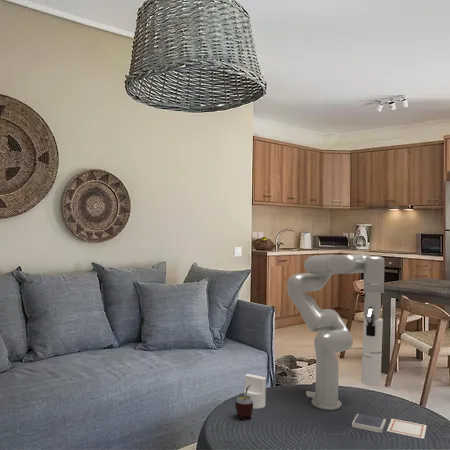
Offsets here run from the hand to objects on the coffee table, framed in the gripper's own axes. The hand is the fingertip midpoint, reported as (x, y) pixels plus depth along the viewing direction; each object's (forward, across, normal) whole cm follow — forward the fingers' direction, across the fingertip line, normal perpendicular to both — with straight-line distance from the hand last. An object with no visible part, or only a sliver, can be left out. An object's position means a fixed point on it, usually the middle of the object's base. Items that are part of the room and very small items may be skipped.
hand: (372, 333), depth 188 cm
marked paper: (+36, -4, +13) cm, 38 cm away
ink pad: (+36, 0, 0) cm, 36 cm away
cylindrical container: (+19, 0, 0) cm, 19 cm away
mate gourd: (+36, +18, -45) cm, 61 cm away
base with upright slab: (+36, +3, -47) cm, 60 cm away
